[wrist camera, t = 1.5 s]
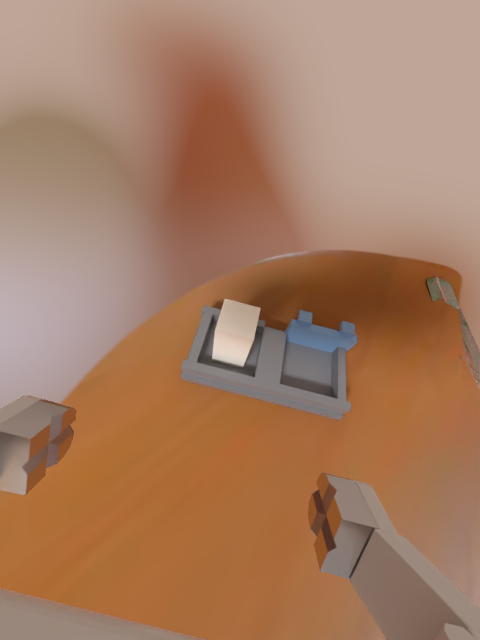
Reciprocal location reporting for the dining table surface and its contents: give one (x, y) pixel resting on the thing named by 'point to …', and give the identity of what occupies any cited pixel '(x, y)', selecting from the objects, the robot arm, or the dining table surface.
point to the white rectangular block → (235, 333)
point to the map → (442, 290)
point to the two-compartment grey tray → (280, 364)
